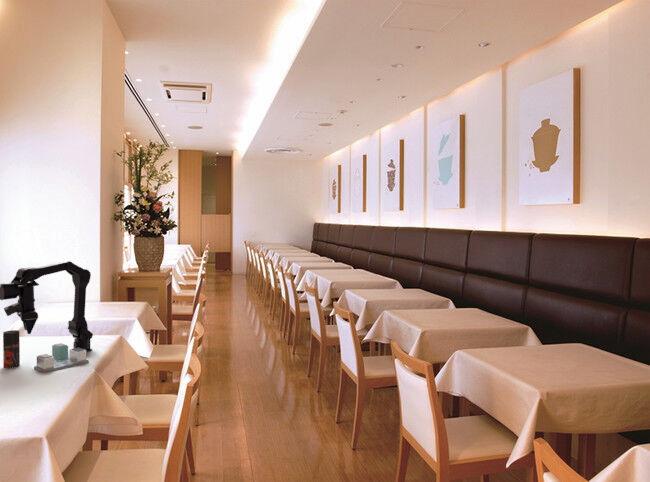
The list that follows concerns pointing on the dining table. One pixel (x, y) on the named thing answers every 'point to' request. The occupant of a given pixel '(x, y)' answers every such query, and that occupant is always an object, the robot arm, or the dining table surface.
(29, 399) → the dining table surface
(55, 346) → the block
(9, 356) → the deodorant
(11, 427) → the dining table surface
